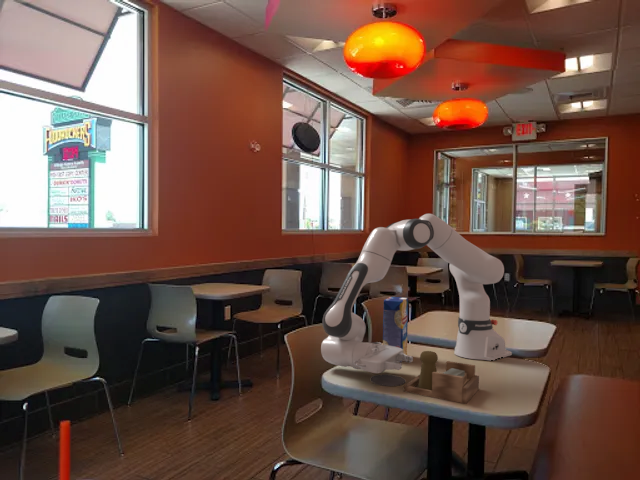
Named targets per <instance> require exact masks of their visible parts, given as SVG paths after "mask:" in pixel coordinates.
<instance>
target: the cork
mask: <svg viewBox="0 0 640 480" xmlns="http://www.w3.org/2000/svg"><path fill="white" fill-rule="evenodd" d="M438 358H439V357H438V354H437V353H436V352H435V351H431V350H424V351H422V352H421V353H420V357H419V359H420V361H421V366H420V373H419V375H420V378H419V384H417V385H418V386H417V388H422V389H427V390H432V373H433V372H438V371H437V362H438V361H439V360H438Z"/></svg>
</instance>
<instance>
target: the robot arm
mask: <svg viewBox="0 0 640 480" xmlns="http://www.w3.org/2000/svg"><path fill="white" fill-rule="evenodd" d="M425 246H427V247H428V248H430V249H431V251H433V252H434V253H435V254H436V255H438V257H440V258H441V259H442V260H443V261H444V262H446V263H448V264H449V271H450V273H451V275H452V276H453V278H454V280H455V282H456V288H457V291H458V295H459V297H458V298H459V317H458V319H457V326H458V331H457V334H456V335H457V336H456V343H455V347H454V352H453V353H454V355H456V356H457V357H461V358H466V359H472V360H484V361H491V360H493V361H496V360H495V359H497V358H500V357H503V358H507V357H510V356H512V355H513V352H512V351H510V350H508V349H506V341H505V338H504V337H502V335H500V334H499V332H497V331H496V330H495V329H494V327H493V325H494V326H497V325H498V322H499V321H498V320H497V319H490V315H491V314H490V312H491V310H490V309H491V301H490V297H489V295H488V294H487V292H486V290H485V288H484V285H492V284H496V283H499V282H500V281H501V280H502V278H503V277H504V273H505V266H504V263H503V262H502V260H501V259H499V258H497V257H495V256H493V255H491V254H489V253H487V252H486V251H484V250H483V249H481V248H480V247H478V246H476V245H475V244H473V243H471V241H468V240H467V239H465V238H464V237H463V235H461V234H460V233H459V232H458V231H456V230H455V229H454V228H453V227H452V226H451V225H450V224H448V223H447V222H446V221H444V220H443V219H442V218H440V217H438V216H437V215H435V214H433V213H425V214H423V215H421V216H419V218H412V219H403V220H400V221H396V222H393V223H391V224H389V225H388V226H386V227H383V226H379V227H376V228H374V229H373V230H372V231H371V232H370V233H369V235H368V237H367V239H366V241H365V242H364V245H363V246H362V250H361V252H360V255H359V257H358V259H357V260H356V262H355V264H354V265H353V266H352V267H351V268H350V270H349V271H348V273H347V275H346V277H345V278H344V281H343V282H342V285H341V287H340V288H339V290H338V292H337V295H336V297H335V299H334V300H333V302H332V303H330V305H329V306H328V308H327V309H326V311H325V312H324V313H323V315H322V316H323V317H322V328H323V330H324V332H325V333H326V334H328V336H326V337H325V338H324V339H323V340H322V342H321V344H320V345H321V346H320V353H321V356H322V359H323V360H324V361H325V362H328V363H329V364H331V365H335V366H339V367H351V368H353V369H355V370H361V371H364V372H368V373H373V374H381V373H383V372H384V371H387V370H388V371H390V370H397V371H400V370H401V369H402V365H403V363H402V362H403V361H404V362H406V363H410V364H411V363H412V362H413V361H414V357H413V356H411V355H408V354H407V355H406V354H404V350H403V349H401V348H399V347H394V346H389V345H383V342H380V341H379V342H378V341H376V342H375V341H374V342H365V341H363V340H364V337H365V336H366V330H367V326H366V323H365V321H364V319H363V318H362V317H361V316H359V315H358V314H356V313H354V312H353V307H354V305H355V303H356V301H357V298H358V297H359V295H360V292H361V291H362V289H363V287H364V286H366V285H367V284H369V283H371V284H372V283H377V282H379V281H382V280H383V279H384V278H385V276H387V273H388V271H389V270H390V267H391V264H392V261H393V258H394V256H395V253H396V252H398V251H399V252H400V251H405V252H407V251H412V250H419V249H422V248H423V247H425ZM500 359H501V358H500ZM497 360H498V359H497ZM400 361H402V362H400Z"/></svg>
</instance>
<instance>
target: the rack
mask: <svg viewBox="0 0 640 480" xmlns="http://www.w3.org/2000/svg"><path fill="white" fill-rule="evenodd" d="M419 378H420V374H418V375H417V376H416V377H414V378H413V379H411V380H410V381H409V382H408V383H406V384H404V386H403V392H406V393H409V394H415V395H421V396H424V397H425V396H426V397H430V398H434V399H440V400H445V401H449V402H456V403H461V404H465V405H466V404H467V403H468V402H469V401H470V400H471V398H473V397H474V395H475V394H476V393H477V392H478V391H479V389H480V375H476V365H475V364H468V363H462V362H456V361H449V360H448V361H446V362H445V371H443V372H438V371H437V372H433V373H432V390H427V389H422V388H418V386H417V385H419ZM416 386H417V387H416Z"/></svg>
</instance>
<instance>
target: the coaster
mask: <svg viewBox="0 0 640 480" xmlns="http://www.w3.org/2000/svg"><path fill="white" fill-rule="evenodd" d="M370 382H371V383H372V384H375V385H379V386H383V387H397V386H403V385H405V383H406V379H405V378H404V377H401V376H399V375H394V374H387V373H386V374H376V375H373V376H371V377H370Z"/></svg>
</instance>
